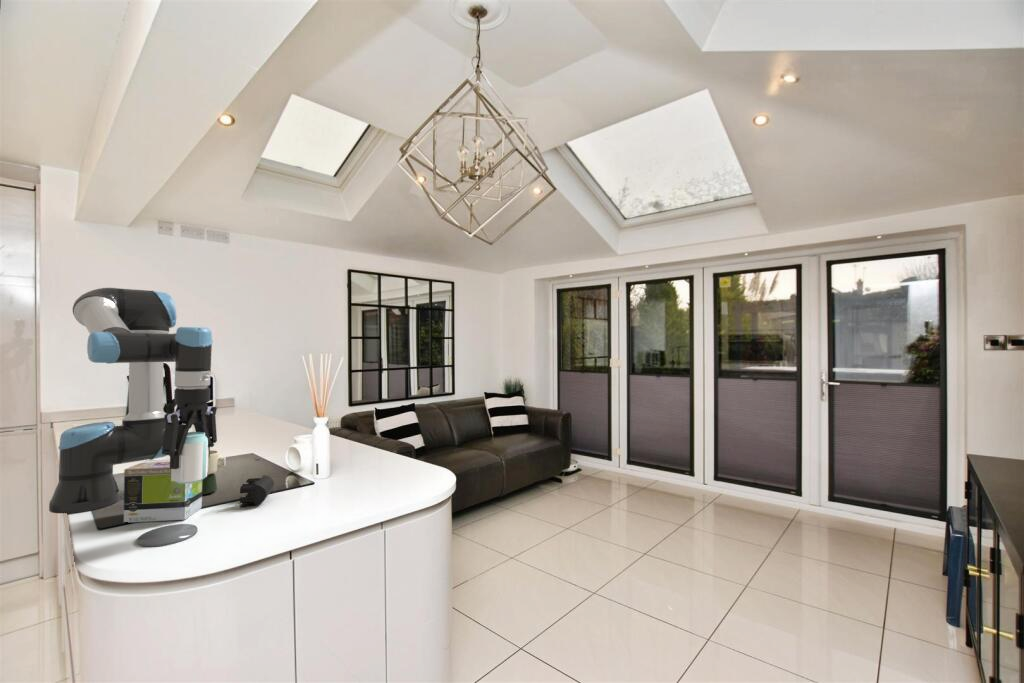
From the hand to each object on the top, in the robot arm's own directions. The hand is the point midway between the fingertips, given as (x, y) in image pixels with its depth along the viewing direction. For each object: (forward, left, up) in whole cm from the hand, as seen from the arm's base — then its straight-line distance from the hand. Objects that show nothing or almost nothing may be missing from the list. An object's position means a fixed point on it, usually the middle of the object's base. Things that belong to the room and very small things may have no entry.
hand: (190, 476), depth 116 cm
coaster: (-3, -3, -14) cm, 15 cm away
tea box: (-16, +8, -15) cm, 23 cm away
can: (0, 0, -1) cm, 1 cm away
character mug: (-20, +26, -15) cm, 36 cm away
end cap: (+1, +23, -15) cm, 27 cm away
